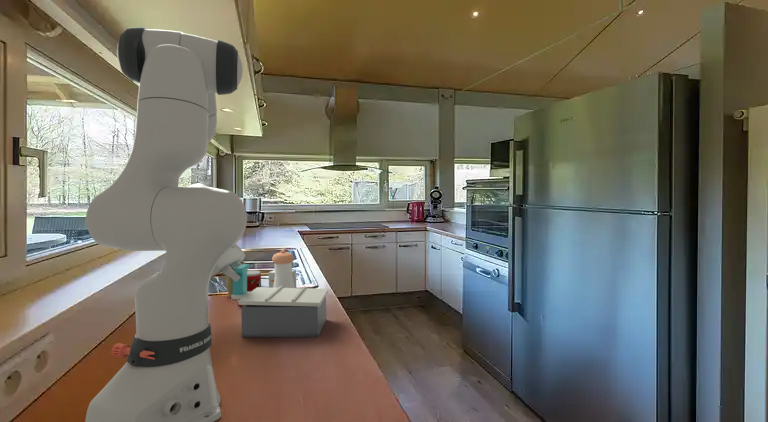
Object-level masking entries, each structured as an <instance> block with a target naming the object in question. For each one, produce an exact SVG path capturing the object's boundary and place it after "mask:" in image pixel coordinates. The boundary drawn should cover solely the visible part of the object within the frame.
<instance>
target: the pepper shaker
mask: <svg viewBox="0 0 768 422" xmlns="http://www.w3.org/2000/svg"><path fill="white" fill-rule="evenodd" d="M271 260H272V262H273V264H274V270H275V279H274V286H273V288H278V287H280V286H282V288H294V282H293V277H292V270H293V264H292V263H293V262H294V260H295V256H294V254H293V253H290V252H287V251H286V250H284V249H281V250H280V252H276V253H274V254H273V256H272V258H271Z"/></svg>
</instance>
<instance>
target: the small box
mask: <svg viewBox="0 0 768 422" xmlns="http://www.w3.org/2000/svg"><path fill="white" fill-rule="evenodd" d="M292 277H293V282H294V288H298V287H297V270H296V269H292ZM274 279H275V269H273V270H270V271H269V272H268V288H273V286H274Z"/></svg>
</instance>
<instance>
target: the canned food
mask: <svg viewBox="0 0 768 422" xmlns="http://www.w3.org/2000/svg"><path fill="white" fill-rule="evenodd" d="M247 273H248V274H247V292H251V291H253V290H254V289H256V288H257V287H262V273H261V271H260V270H256V269H254V270H253V269H252V270H249V269H248V270H247ZM239 300H240V299H236V303H237V305H238V301H239ZM242 306H244V305H238V307H240V308H241V307H242Z"/></svg>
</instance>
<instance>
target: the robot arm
mask: <svg viewBox="0 0 768 422" xmlns="http://www.w3.org/2000/svg"><path fill="white" fill-rule="evenodd" d="M116 46H117V47H116V57H117V61H118V64H119V67H120V69H121V72H122V74H123V75H124V76H125V77H127V79H129V81H131V82H133V83H135V84H139V85H138V93H137V106H136V107H137V109H136V121H135V123H136V124H135V132H134V133H135V134H134V139H133V140H134V141H133V145H132V149H131V150H132V151H131V153H130V155H129V158H128V160H127V162H126V164H125V166H124V168H122V169H123V170H122V171H121V172H120V174H119V175H118V177H117V178H116V179H115V180H114V182H112V184H110V186H108V187H107V188H106V189H105V190H103V191H102V192H100V193H99V194H97V195H96V196H95V197H94V198H93V199H92V200H91V202H90V203H89V205H88V207H87V211H86V214H85V224H86V228H87V230H88V233H89V235H90V236H91V238H92V239H93V241H94V242H96V244H98V245H99V246H102V247H107V248H112V249H115V250H122V251H127V252H128V251H129V252H139V251H140V252H160V251H161V252H162V251H163V252H166V253H165V254H166V257H165V263H164V266H163V268H162V270H159V271H157V272H155V273H154V274H153V275H151V276H149V277H147V278H146V279H145V280H143V281H142V282H141V283H140V285H139V286H138V288H137V289H136V291H135V294H134V305H135V309H134V310H135V332H136V333H135V334H134V335H133V338H132V341H131V344H130V345H129V344H124V343H121V342H119V343H115V344H114V345H113V346H112V348H111V351H110V353H111V355H112V356H113V357H119V358H122V359H123V358H126V362H125V363H124V364H123V366H122V367H121V368H120V369H119V370H118V371H117V372H116V373H115V374H114V376H113V377H112V378H111V379H110V380H109V381H108V382H107V383H106V384H105V386H104V387H103V388H102V389H101V390H100V391H99V392H98V393H97V394H96V395H95V396H94V398H92V399H91V401H90V402H89V405H88V406H87V410H86V414H85V422H216V421H218V420H219V419H220V418H221V417H222V411H221V407H220V404H221V399H222V398H221V395H220V393H219V390H218V387H217V383H216V379H215V373H214V368H213V363H212V358H211V350H210V347H211V346H212V344H213V343H212V342H213V340H212V337H213V334H212V326H211V323H209V292H210V291H209V288H210V281H211V278H212V277H214V276H216V275H219V274H221V273H222V274H224V276H226V277H227V276H228V277H230V278H232V279H233V280H234V281H238V280H239V279H240V278H241V277H242V276H241V275H240V274H239V273H235V271H234V270H232V269H231V267H232V268H233V269H235V268H236V267H238V266H240V265H242V264H241V263H240V262H241V261H242V260H243V261H244V259H245V258H246V254H245V251H244V250H243V249H241V247H240V246H239V245H238V244H237V243H239V240H240V239H241V238H242V237H243V235H244V233H245V231H246V227H247V223H248V215H247V210H246V209H247V208H246V207H245V204H244V202H243V200H242V199H241V198H240V196H239V195H238V194H236V193H235V192H234V191H233V190H227V189H223V188H216V187H210V186H209V185H208V184H205V183H202V182H197V183H193V184H191V185H189V186H179V183H180V182H179V181H180V178H181V176H182V174H183V173H184V172H185V171H188V169H190V168H191V167H194V166H196V165H197V164H199V163H200V162H201V161H203V159H204V157H205V155H207V151H208V144H209V143H210V142H211V141H212V139H213V138H214V137H215V134H216V130H217V125H218V112H217V111H218V109H217V107H218V106H217V95H218V96H224V95H230V94H233V93H234V92H235V91H237V90H238V87H239V85H240V83H241V82H242V78H243V72H244V71H243V70H244V69H243V63H242V60H241V56H240V55H239V51H238V49H237V48H236V47H235V45H233V44H231V43H229V42H226V41H224V40H220V39H218V40H214V39H210V38H207V37H203V36H199V35H194V34H191V33H184V32H183V31H176V30H168V29H167V30H166V29H147V28H146V27H143V26H141V27H140V26H139V27H138V26H137V27H128V28H127V27H126V29H125V30H124V31H122V32H121V34H119V38H118V42H117V45H116ZM216 94H217V95H216ZM243 261H242V262H243ZM247 274H248V273H247Z"/></svg>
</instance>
